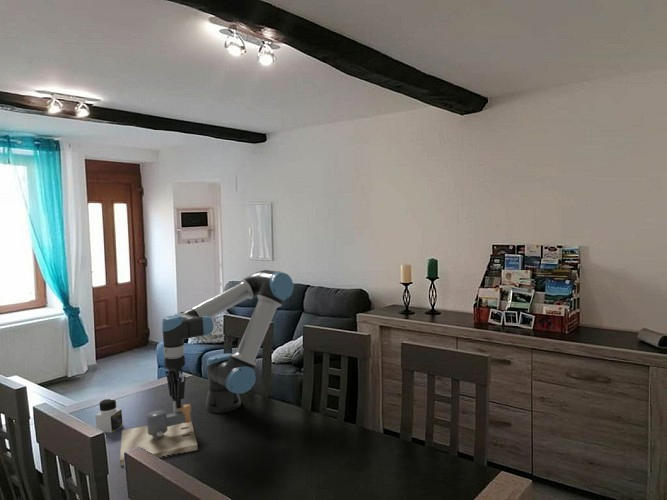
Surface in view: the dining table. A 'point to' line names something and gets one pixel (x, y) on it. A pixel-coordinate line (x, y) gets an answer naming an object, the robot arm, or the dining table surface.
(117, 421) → the medicine bottle
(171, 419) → the uneven dumbbell rattle
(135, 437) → the base board
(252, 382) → the robot arm
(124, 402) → the dining table surface
